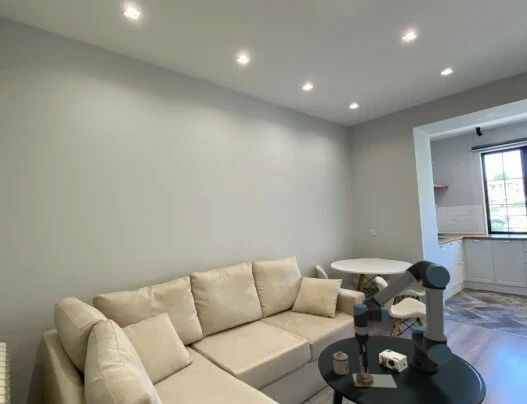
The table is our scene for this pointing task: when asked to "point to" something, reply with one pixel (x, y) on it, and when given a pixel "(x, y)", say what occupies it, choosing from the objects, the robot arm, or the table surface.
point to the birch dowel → (362, 368)
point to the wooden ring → (364, 382)
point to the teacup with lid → (340, 363)
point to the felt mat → (379, 381)
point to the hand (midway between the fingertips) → (364, 372)
